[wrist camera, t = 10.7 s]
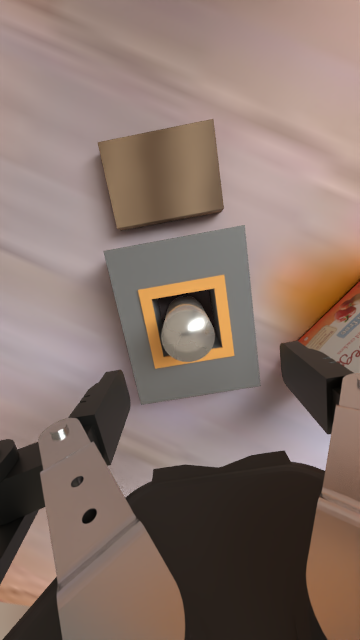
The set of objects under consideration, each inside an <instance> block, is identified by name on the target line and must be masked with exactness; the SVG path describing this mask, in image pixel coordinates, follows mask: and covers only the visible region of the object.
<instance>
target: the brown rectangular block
mask: <svg viewBox="0 0 360 640" xmlns="http://www.w3.org/2000/svg"><path fill="white" fill-rule="evenodd" d="M98 146H99V151H100V155H101V160H102V164H103V169H104V173H105V177H106V182H107V186H108V191H109V195H110V199H111V204H112V208H113V213H114V217H115V222H116V226H117V229H119V230H127V229H132V228H137V227H143V226H148V225H153V224H159V223H164V222H169V221H175V220H180V219H185V218H191V217H196V216H202V215H207V214H212V213H218V212H221V211H222V210H223V209H224V206H223V197H222V189H221V180H220V172H219V163H218V155H217V146H216V138H215V129H214V121H213V119H211V120H206V121H201V122H196V123H191V124H186V125H181V126H176V127H171V128H166V129H161V130H156V131H151V132H147V133H142V134H137V135H132V136H127V137H122V138H117V139H112V140H107V141H102V142H98Z"/></svg>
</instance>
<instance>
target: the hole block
mask: <svg viewBox="0 0 360 640" xmlns="http://www.w3.org/2000/svg"><path fill="white" fill-rule="evenodd" d="M104 255H105V260H106V264H107V268H108V272H109V276H110V280H111V284H112V288H113V292H114V296H115V300H116V304H117V308H118V313H119V317H120V321H121V325H122V329H123V333H124V337H125V341H126V345H127V349H128V353H129V357H130V361H131V365H132V370H133V374H134V378H135V382H136V386H137V390H138V394H139V398H140V402H141V405H143V404H149V403H156V402H162V401H168V400H175V399H181V398H187V397H194V396H200V395H206V394H213V393H219V392H225V391H232V390H238V389H244V388H251V387H257V386H261V385H260V375H259V365H258V355H257V345H256V335H255V325H254V315H253V304H252V294H251V284H250V274H249V264H248V254H247V244H246V234H245V225H242V226H237V227H232V228H226V229H221V230H215V231H210V232H204V233H199V234H194V235H188V236H183V237H177V238H172V239H166V240H161V241H156V242H150V243H145V244H139V245H134V246H129V247H123V248H118V249H112V250H107V251H104ZM207 289H209V292H210V299H211V306H212V313H213V320H214V327H215V340H214V344H213V347H212V349H211V350H210V352H209V353H208V354H207V355H206V356H205V357H203V358H201V359H199V360H197V361H193V362H182V361H179V360H176V359H174V358H173V357H171V356H170V355H169V354H168V353H167V352H166V351H165V349H164V347H163V344H162V340H161V334H162V329H163V325H162V320H161V315H160V310H159V305H158V300H157V298H162V297H167V296H173V295H179V294H185V293H190V292H196V291H202V290H207Z"/></svg>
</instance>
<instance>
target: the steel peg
mask: <svg viewBox="0 0 360 640" xmlns="http://www.w3.org/2000/svg"><path fill="white" fill-rule="evenodd" d="M161 340H162V344H163V347H164V349H165V351H166V352H167V353H168V354H169V355H170V356H171V357H173V358H174V359H176V360H179V361H182V362H193V361H197V360H199V359H201V358H203V357H205V356H206V355H207V354H208V353H209V352H210V350H211V349H212V347H213V344H214V340H215V332H214V329H213V326H212V324H211V322H210V320H209V318H208V316H207V314H206V313H205V311H204V309H203V307H202V305H201V303H200V302H199V301H198V300H197V299H195V298H193V297H191V296H180V297H177V298H176V299H174V300H173V301H172V302H171V303H170V305H169V307H168V310H167V313H166V317H165V321H164V325H163V329H162V334H161Z"/></svg>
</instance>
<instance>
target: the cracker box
mask: <svg viewBox="0 0 360 640" xmlns="http://www.w3.org/2000/svg"><path fill="white" fill-rule="evenodd" d="M298 341H299V342H300V343H302V344H303V345H304V346H306V347H307V348H309V349H314V350H317V351H320V352H323V353H324V354H326V355H327V356H329V357H330V358H332V359H334V360H335V361H336V362H338V363H340V364H341V365H343V366H344V367H346V368H347V369H349V370H350V371H352V372H353V373H360V281H359V282H358V283H357V284H356V285H355V286H354V287H353V288H352V289H351V290H350V291H349V292H348V293H347V294H346V295H345V296H344V297H343V298H342V299H341V300H340V301H339V302H338V303H337V304H336V305H335V306H334V307H333V308H332V309H330V310H329V311H328V312H327V313H326V314H325V315H324V316H323V317H322V318H321V319H320V320H319V321H318V322H317V323H316V324H315V325H314V326H313V327H312V328H311V329H310V330H309V331H308V332H307V333H305V334H304V335H303V336H302V337H301V338H300V339H299V340H298Z"/></svg>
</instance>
